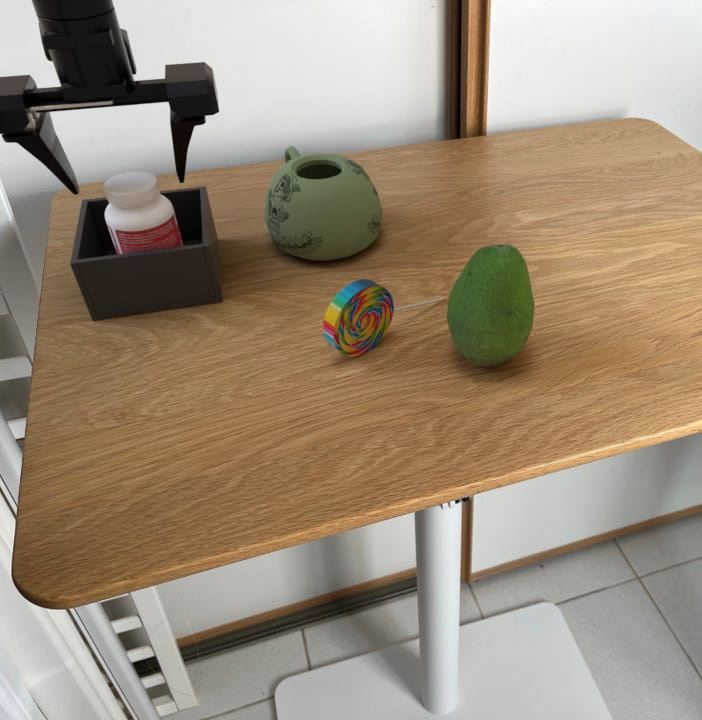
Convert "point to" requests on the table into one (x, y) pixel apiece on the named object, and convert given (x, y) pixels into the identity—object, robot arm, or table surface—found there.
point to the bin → (148, 262)
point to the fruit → (491, 306)
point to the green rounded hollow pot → (322, 207)
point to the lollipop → (360, 317)
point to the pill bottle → (139, 214)
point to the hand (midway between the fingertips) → (130, 186)
